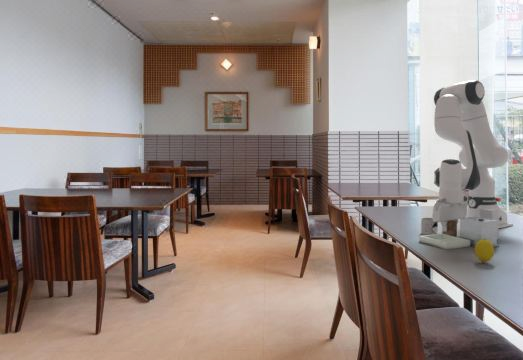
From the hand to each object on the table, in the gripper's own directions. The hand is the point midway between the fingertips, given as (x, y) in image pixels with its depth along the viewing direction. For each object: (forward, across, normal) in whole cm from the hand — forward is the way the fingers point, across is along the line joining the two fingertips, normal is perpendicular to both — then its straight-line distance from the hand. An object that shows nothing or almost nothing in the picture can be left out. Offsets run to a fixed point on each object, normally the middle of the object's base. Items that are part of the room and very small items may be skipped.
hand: (449, 230), depth 179 cm
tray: (+3, -15, -7) cm, 17 cm away
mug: (+3, 0, +9) cm, 10 cm away
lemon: (+3, -29, -30) cm, 42 cm away
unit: (+3, -6, -15) cm, 16 cm away
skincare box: (+3, +10, -12) cm, 15 cm away
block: (+3, 0, 0) cm, 3 cm away
